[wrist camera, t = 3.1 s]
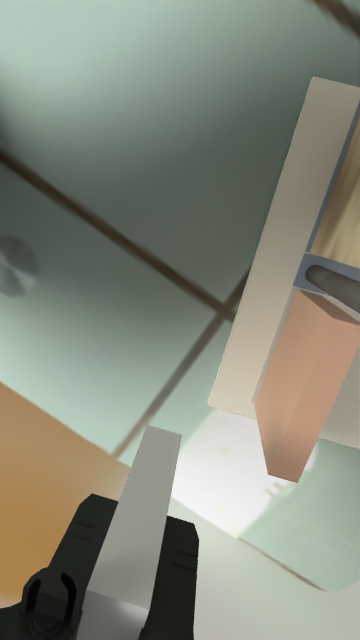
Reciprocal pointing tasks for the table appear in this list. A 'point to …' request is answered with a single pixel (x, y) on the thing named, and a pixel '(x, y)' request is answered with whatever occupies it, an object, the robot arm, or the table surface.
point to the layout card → (294, 261)
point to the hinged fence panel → (303, 381)
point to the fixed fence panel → (341, 231)
